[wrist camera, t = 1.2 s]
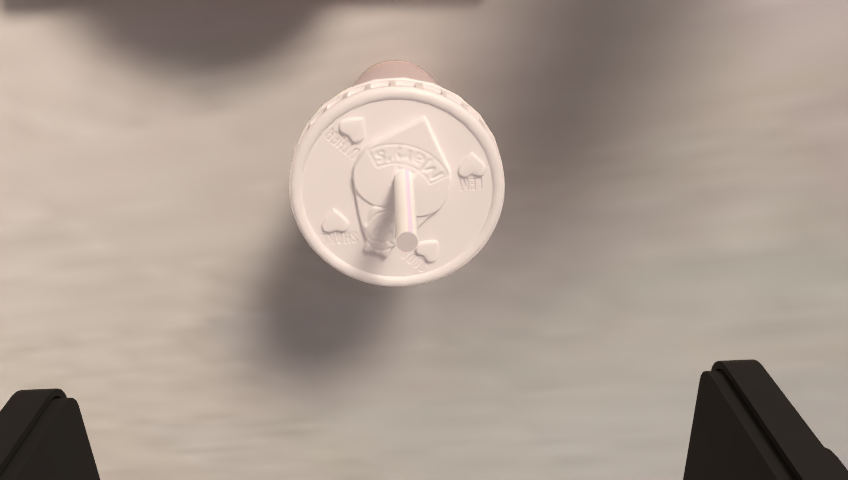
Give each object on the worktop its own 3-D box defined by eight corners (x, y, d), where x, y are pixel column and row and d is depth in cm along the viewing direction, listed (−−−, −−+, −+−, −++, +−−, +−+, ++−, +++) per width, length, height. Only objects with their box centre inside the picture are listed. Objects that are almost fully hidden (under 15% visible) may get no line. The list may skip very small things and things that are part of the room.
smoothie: (496, 56, 29) (577, 181, 17) (442, 197, 32) (477, 399, 19) (342, 2, 28) (303, 92, 16) (298, 153, 31) (234, 337, 18)
